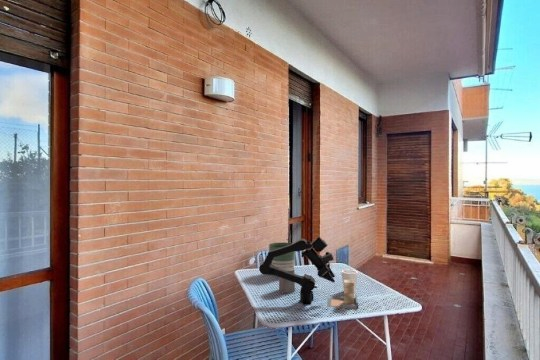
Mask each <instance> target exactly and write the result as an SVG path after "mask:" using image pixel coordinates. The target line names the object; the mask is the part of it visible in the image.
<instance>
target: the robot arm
mask: <svg viewBox="0 0 540 360" xmlns="http://www.w3.org/2000/svg"><path fill="white" fill-rule="evenodd" d="M328 246H329V245H328V243H327V242H326V241H325V240H324V239H323V238H322V237H321V236H318V237H317V238H316V239H314V241H308V240H307V239H306V238H299V239H298V240H296V241H295V242H293V243H292V244H291V245H288V246H285V247H282V248H278V249H275V250H271V251H269V250H268V252H267V255H266V257H265V259H264V261H263V262H262V263H260V265H259V267H258V269H259V272H260V274H262V275H266V276H275V277H278V278H279V277H281V278H283V279H286V280H289V281H292V282H295V284H298V285H299V286H300V291H299V300H298V302H299V303H301V304H302V305H304V306H306V305H311V304H312V302H314V292H313V290H314V289H315V287H316V280H315V278H314V277H313V276H312V275H309V274H308V273H304V275H299V274H296V273H295V272H294V273H295V274H294V273H291V272H288V271H285V270H282V269H279V268H277V267H275V266H274V265H273V264H271V263H272V261H273V258H274V257H277V256H280V255H283V254H286V253H290V252H294V251H295V252H300V253H301V258H304V257H306V258H307V259H308V260H309V262H311V264H312V266H314V267H315V268H316V270H317V276H318V277H319V278H322V279H325V280H327V281H328V282H331V283H335V282H336V280H335V279H334V278H335V277H336V275H335V274H334V271H332V269H331V267H330V265H331V263H330V261H331V262H332V261H334V256H333V253H332V252H330V251H326V252H325V254H324V255H320V254H318V253H321V252H322V251H324V250H325V248H327V247H328Z"/></svg>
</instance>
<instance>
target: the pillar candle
mask: <svg viewBox="0 0 540 360" xmlns="http://www.w3.org/2000/svg"><path fill="white" fill-rule="evenodd" d="M279 269H282V270H285V271H288V272H291V273H294V274H296V273H295V267H294V268H293V267H280V268H279ZM278 291H279V293H282V292H283V294H292V293H294V292H295V291H296V283H295V282H292V281H289V280H286V279H283V278H281V277H278Z"/></svg>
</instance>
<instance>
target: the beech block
mask: <svg viewBox="0 0 540 360" xmlns="http://www.w3.org/2000/svg"><path fill="white" fill-rule="evenodd" d="M343 297H344V304H351V305H354V298H355V293H354V280H344V287H343Z"/></svg>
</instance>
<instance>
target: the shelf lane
mask: <svg viewBox="0 0 540 360" xmlns="http://www.w3.org/2000/svg"><path fill="white" fill-rule="evenodd" d="M326 306H327V307H331V308H344V309H359V299H358V294H354V305H351V304H344V296H340V298H329V297H328V298H327V303H326Z"/></svg>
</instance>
